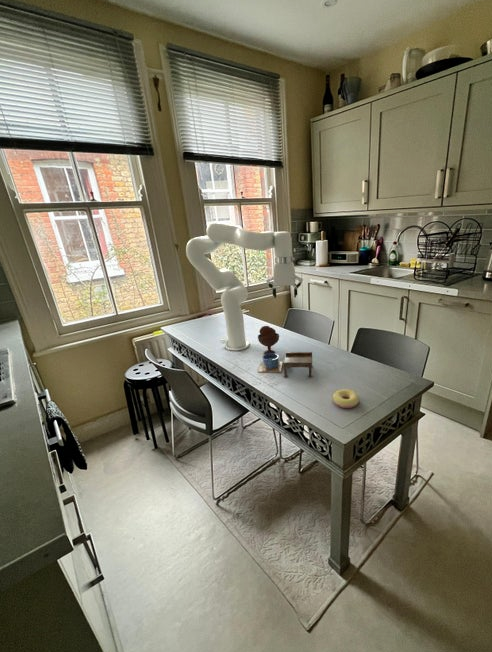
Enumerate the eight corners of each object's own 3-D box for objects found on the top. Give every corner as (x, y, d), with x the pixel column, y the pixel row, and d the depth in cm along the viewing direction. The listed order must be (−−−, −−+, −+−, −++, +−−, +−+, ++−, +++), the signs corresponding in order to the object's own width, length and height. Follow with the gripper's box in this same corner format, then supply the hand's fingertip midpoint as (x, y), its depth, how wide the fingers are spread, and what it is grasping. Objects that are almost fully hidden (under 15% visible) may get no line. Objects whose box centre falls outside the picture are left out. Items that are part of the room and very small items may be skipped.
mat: (258, 372, 143) (258, 371, 142) (262, 362, 152) (262, 361, 151) (280, 372, 142) (280, 371, 141) (282, 362, 151) (282, 361, 150)
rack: (284, 377, 137) (283, 362, 134) (286, 366, 147) (285, 352, 144) (311, 377, 136) (311, 362, 133) (312, 366, 146) (312, 352, 143)
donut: (357, 401, 121) (333, 395, 123) (360, 390, 120) (336, 385, 122) (356, 412, 112) (330, 406, 114) (359, 401, 111) (332, 394, 113)
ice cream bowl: (278, 358, 156) (276, 329, 149) (256, 357, 158) (253, 328, 152) (282, 349, 165) (280, 322, 159) (261, 348, 167) (259, 321, 161)
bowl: (262, 370, 143) (261, 360, 141) (264, 362, 150) (263, 353, 148) (278, 370, 143) (277, 360, 141) (279, 362, 149) (279, 353, 147)
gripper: (302, 258, 147) (303, 294, 154) (266, 259, 149) (268, 295, 156) (302, 261, 140) (302, 298, 147) (263, 262, 142) (266, 299, 149)
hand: (285, 297), depth 152 cm, fingers open, 9 cm apart
